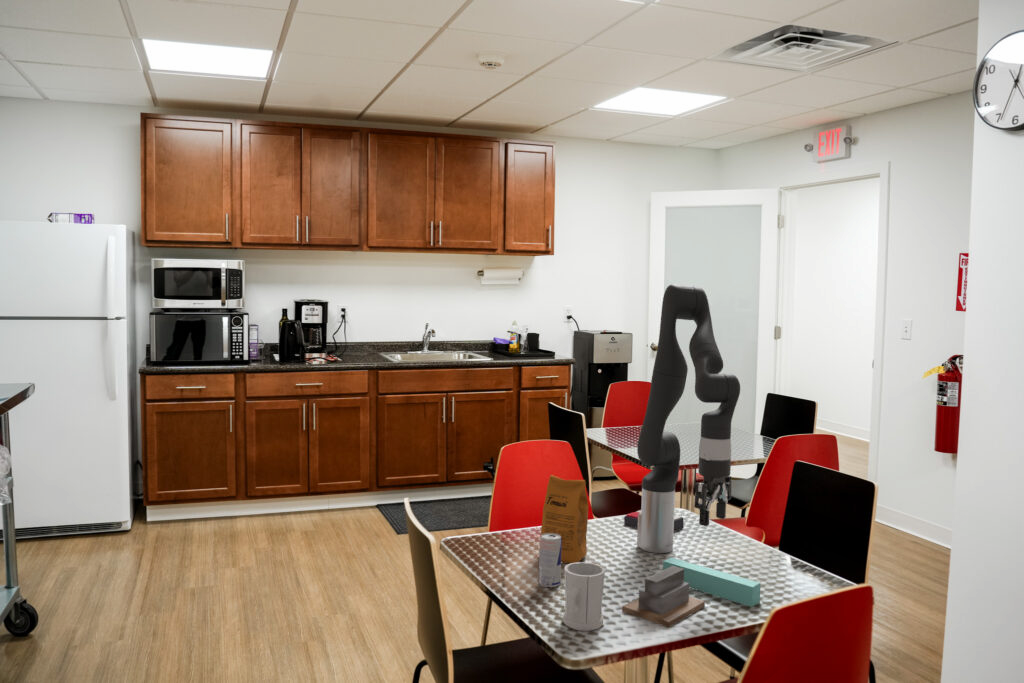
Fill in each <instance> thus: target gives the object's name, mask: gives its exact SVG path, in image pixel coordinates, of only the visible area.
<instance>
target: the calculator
mask: <svg viewBox="0 0 1024 683" xmlns="http://www.w3.org/2000/svg"><path fill="white" fill-rule="evenodd" d="M639 513H641V509H639V510H637V511H634V512H630V513H627V514H625V515H624V517H623V518H624V520H623V524H625V526H628V527H631V526H632V528H635V527H636V528H635V529H638V514H639ZM684 523H685V522H684V517H682V516H681V515H675V514H674V531H676V530H678V531H680V530H679V529H681V530H683V529H684ZM682 528H683V529H682ZM676 532H677V531H676Z"/></svg>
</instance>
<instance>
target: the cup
mask: <svg viewBox="0 0 1024 683" xmlns="http://www.w3.org/2000/svg"><path fill="white" fill-rule="evenodd" d="M563 570H564V589H565V593H564V594H565V601H564V602H565V604H564V605H565V607H564V608H565V611H564V612H563V613H562V614H563V615H562V622H563V623H564V625H565V626H567V627H568V628H570V629H572V630H576V631H580V632H590V631H595V630H598V629H599V628H601V627H602V626H603V625H604V615H603V614H602V613H603V612H602V611H603V609H602V608H603V596H604V595H603V594H604V585H605V576H606V570H605V568H604V567H603V566H602V565H600V564H596V563H592V562H584V561H583V562H582V561H579V562H575V563H567V564H566V565H565V566H564V569H563Z"/></svg>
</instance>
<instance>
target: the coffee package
mask: <svg viewBox="0 0 1024 683" xmlns="http://www.w3.org/2000/svg"><path fill="white" fill-rule="evenodd" d="M586 485H587V482H586V479H563V478H560V477H558V476H555V475H553V474H551V475H550V476H549V478H548V483H547V486H546V494H545V496H544V497H545V498H544V502H543V503H544V504H543V507H542V508H543V509H542V519H541V529H540V530H541V531H540V536H541V535H542V534H546V533H554V534H558V535H560V536H561V539H562V550H561V562H564V563H563V564H570V563H575V562H581V560H582V559H583V558H585V557H587V556H586V555H587V551H588V550H587V549H588V548H587V547H588V546H587V544H588V543H587V532H588V523H589V522H588V521H589V518H588V517H589V502H588V495H587V491H586V490H587V489H586Z"/></svg>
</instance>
